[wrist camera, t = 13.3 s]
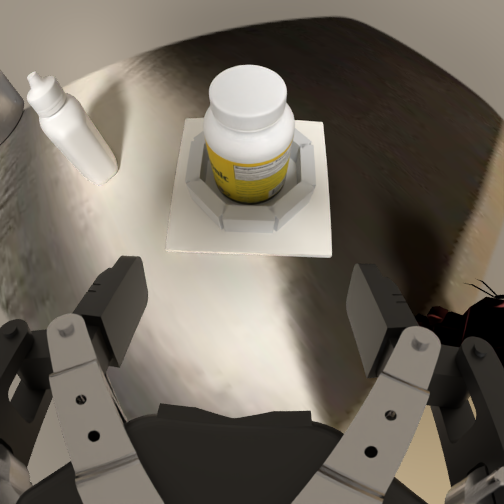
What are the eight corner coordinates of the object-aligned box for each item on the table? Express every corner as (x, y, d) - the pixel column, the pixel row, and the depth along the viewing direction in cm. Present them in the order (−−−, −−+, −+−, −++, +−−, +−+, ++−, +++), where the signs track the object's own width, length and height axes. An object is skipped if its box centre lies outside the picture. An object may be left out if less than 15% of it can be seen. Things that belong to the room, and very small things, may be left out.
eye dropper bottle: (117, 132, 26) (65, 39, 14) (120, 181, 24) (52, 88, 13) (77, 147, 26) (15, 65, 14) (77, 196, 24) (-3, 118, 13)
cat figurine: (470, 338, 21) (578, 324, 9) (427, 406, 19) (534, 436, 8) (418, 286, 22) (525, 242, 10) (369, 357, 21) (473, 367, 9)
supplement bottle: (211, 153, 24) (193, 62, 15) (278, 145, 25) (289, 53, 15) (218, 214, 23) (198, 133, 13) (291, 204, 23) (314, 121, 14)
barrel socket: (167, 251, 23) (155, 239, 20) (186, 122, 26) (180, 100, 23) (330, 257, 23) (340, 245, 20) (321, 126, 26) (327, 104, 23)
